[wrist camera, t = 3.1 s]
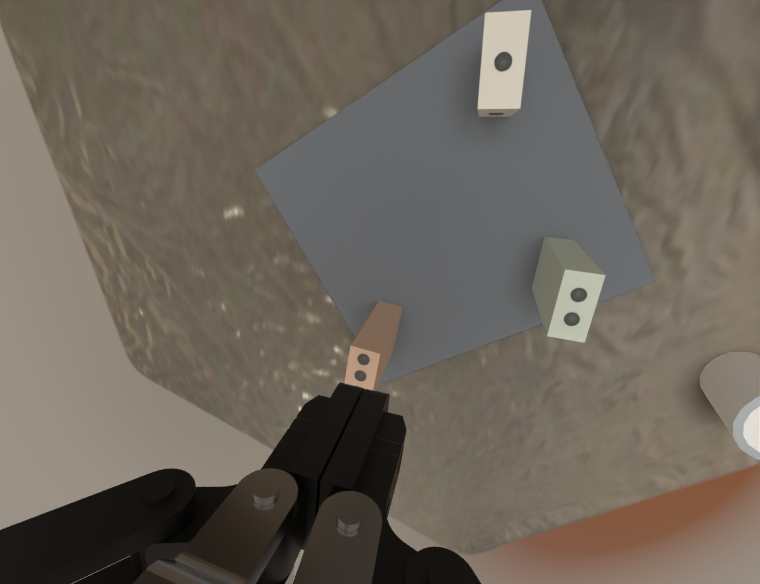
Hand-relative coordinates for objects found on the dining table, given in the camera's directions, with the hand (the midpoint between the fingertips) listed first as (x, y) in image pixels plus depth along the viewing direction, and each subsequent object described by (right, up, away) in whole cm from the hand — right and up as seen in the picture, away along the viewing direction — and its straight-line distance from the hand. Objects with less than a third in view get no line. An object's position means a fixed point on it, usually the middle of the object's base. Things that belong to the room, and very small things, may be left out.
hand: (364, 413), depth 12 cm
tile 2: (+16, +6, +25) cm, 30 cm away
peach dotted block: (+1, 0, +31) cm, 31 cm away
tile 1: (+10, +20, +21) cm, 31 cm away
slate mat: (+6, +10, +26) cm, 29 cm away
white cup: (+33, -4, +25) cm, 42 cm away
